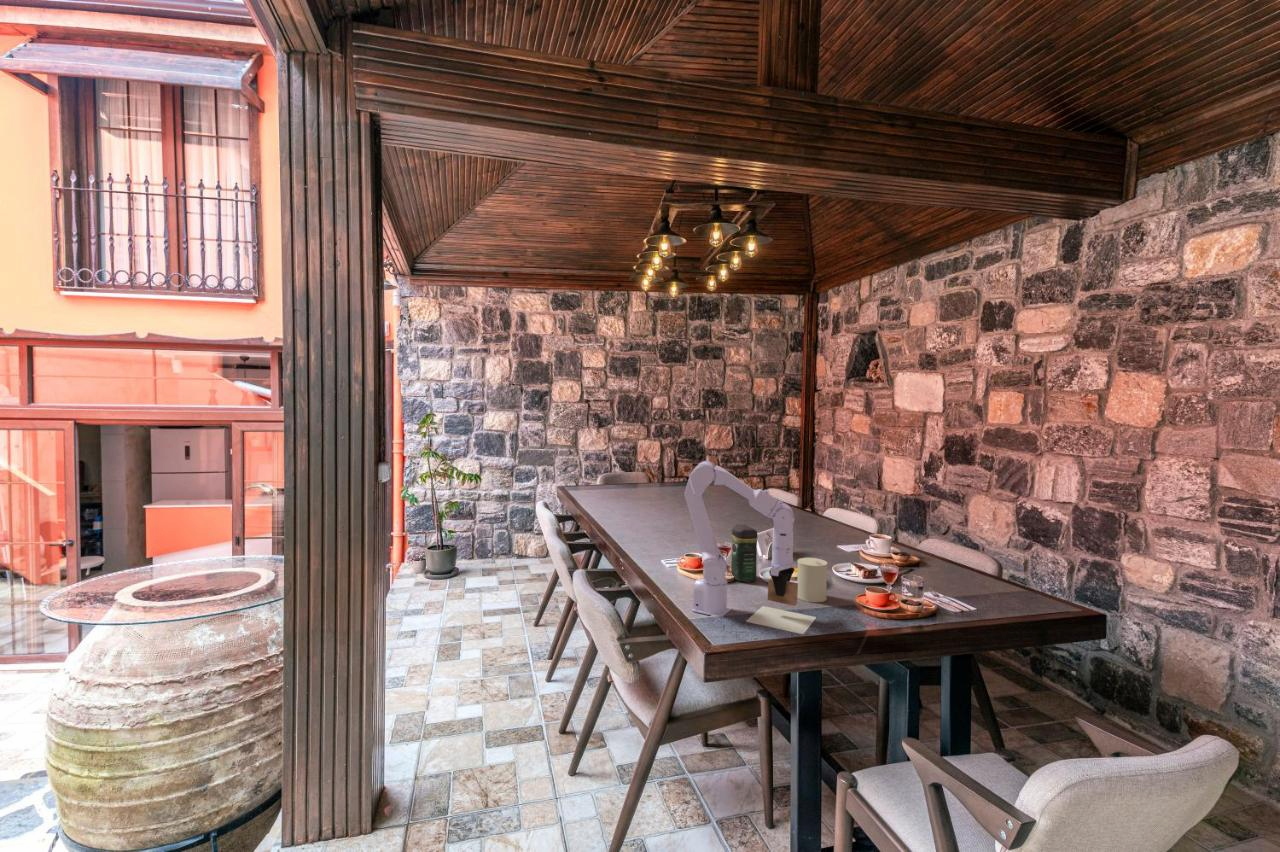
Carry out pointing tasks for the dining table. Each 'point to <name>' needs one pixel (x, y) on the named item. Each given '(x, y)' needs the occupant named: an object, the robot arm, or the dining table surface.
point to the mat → (782, 619)
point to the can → (812, 579)
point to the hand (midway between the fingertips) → (781, 594)
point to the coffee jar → (744, 553)
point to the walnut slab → (788, 597)
